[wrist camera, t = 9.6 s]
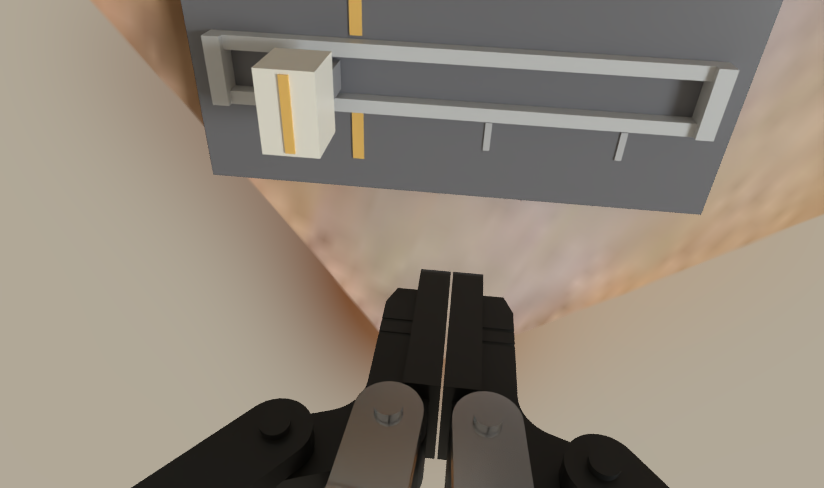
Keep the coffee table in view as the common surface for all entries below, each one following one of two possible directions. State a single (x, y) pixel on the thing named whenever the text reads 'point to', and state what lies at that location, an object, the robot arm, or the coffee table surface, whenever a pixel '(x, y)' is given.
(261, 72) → the fader
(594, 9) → the console
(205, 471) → the robot arm
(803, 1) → the coffee table surface
